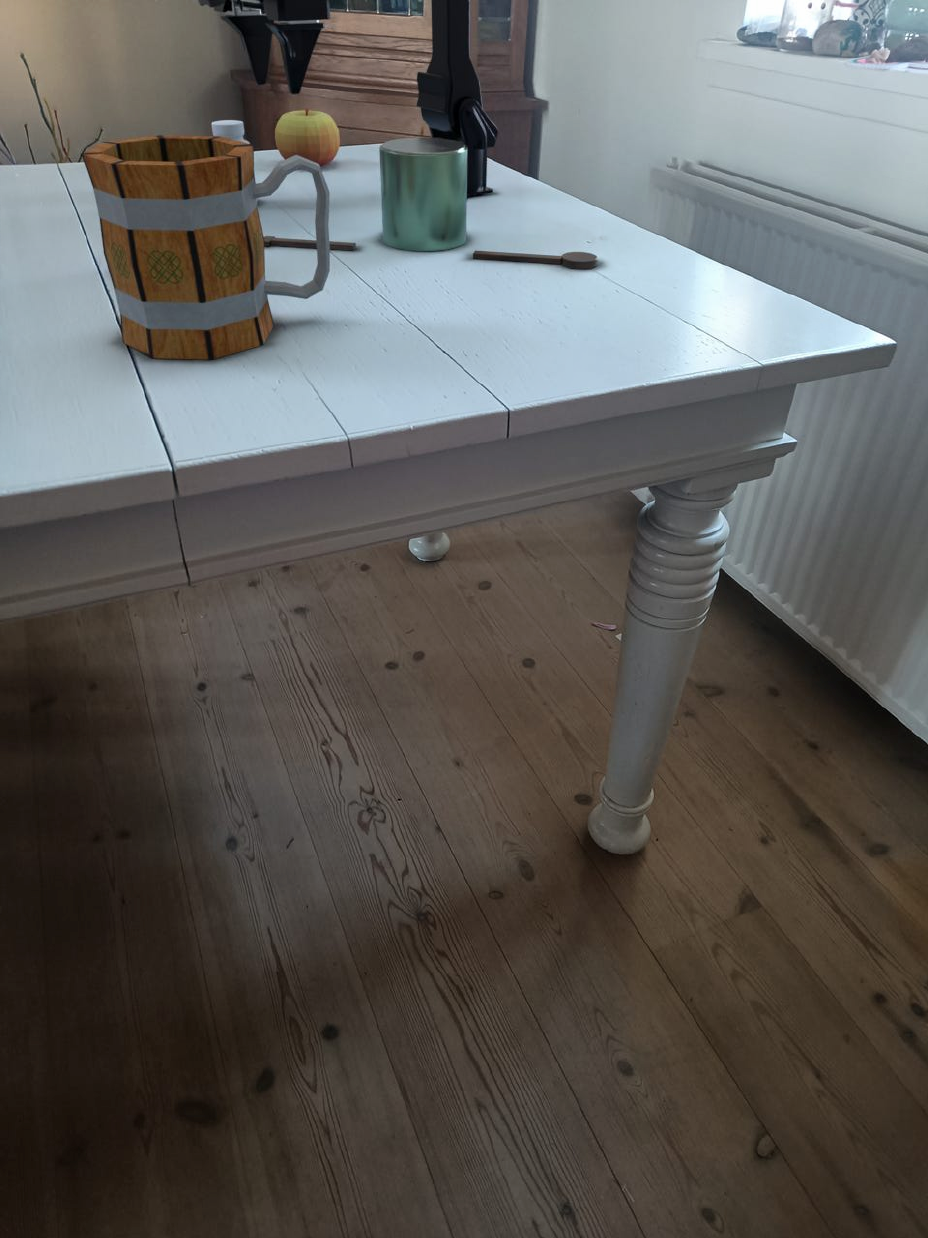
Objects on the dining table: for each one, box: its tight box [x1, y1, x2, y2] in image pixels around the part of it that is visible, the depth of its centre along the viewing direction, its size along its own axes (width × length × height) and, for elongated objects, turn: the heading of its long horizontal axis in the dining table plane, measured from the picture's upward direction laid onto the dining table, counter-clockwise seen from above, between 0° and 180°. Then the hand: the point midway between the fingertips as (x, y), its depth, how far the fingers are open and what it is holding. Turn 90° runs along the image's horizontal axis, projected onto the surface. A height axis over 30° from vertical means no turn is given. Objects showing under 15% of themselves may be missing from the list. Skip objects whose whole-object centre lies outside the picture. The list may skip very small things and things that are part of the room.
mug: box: [81, 134, 331, 360], centre depth 78 cm, size 20×14×15 cm
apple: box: [274, 108, 341, 168], centre depth 139 cm, size 10×10×8 cm
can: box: [378, 137, 468, 252], centre depth 104 cm, size 10×10×10 cm
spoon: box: [472, 249, 599, 270], centre depth 101 cm, size 14×4×1 cm, turn 80°
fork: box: [264, 235, 357, 252], centre depth 104 cm, size 15×2×1 cm, turn 80°
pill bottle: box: [211, 119, 259, 202], centre depth 117 cm, size 5×5×10 cm
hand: (277, 88), depth 106 cm, fingers open, 9 cm apart
